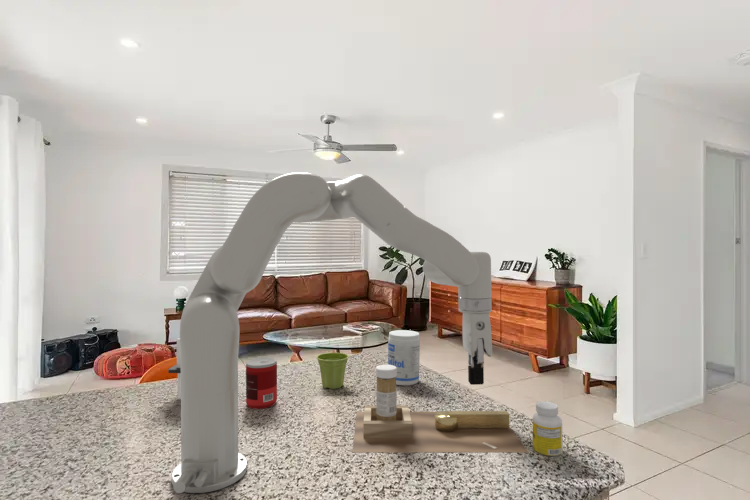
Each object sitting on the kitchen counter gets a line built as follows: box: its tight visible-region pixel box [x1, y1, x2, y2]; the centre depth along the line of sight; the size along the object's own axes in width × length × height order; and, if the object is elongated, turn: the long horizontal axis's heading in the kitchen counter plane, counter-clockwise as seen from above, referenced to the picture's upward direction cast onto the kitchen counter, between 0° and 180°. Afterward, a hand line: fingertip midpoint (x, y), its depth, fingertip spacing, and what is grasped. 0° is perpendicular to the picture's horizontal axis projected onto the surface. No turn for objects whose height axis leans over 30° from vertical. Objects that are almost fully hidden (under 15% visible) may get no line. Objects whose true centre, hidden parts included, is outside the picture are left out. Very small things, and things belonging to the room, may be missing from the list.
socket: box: [363, 405, 412, 438], centre depth 92 cm, size 10×10×3 cm
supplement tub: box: [387, 329, 421, 386], centre depth 127 cm, size 10×10×15 cm
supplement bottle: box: [532, 400, 564, 458], centre depth 82 cm, size 5×5×10 cm
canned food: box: [245, 357, 278, 410], centre depth 109 cm, size 8×8×11 cm
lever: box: [435, 410, 510, 431], centre depth 92 cm, size 5×16×3 cm, turn 90°
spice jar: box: [375, 364, 398, 421], centre depth 92 cm, size 5×5×14 cm
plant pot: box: [315, 352, 350, 390], centre depth 123 cm, size 9×9×9 cm
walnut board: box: [351, 411, 529, 453], centre depth 91 cm, size 20×34×1 cm, turn 90°
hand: (476, 383), depth 99 cm, fingers closed
